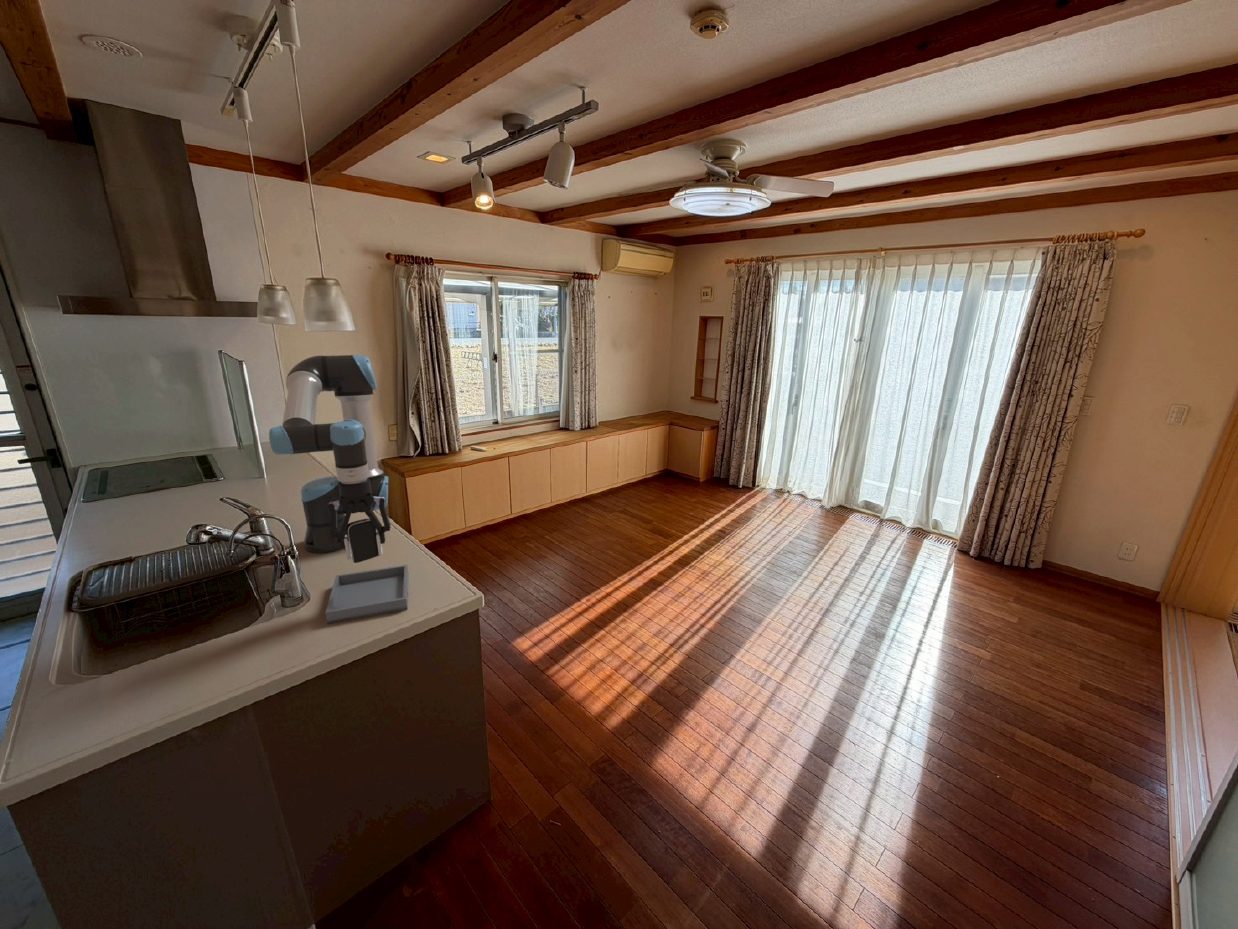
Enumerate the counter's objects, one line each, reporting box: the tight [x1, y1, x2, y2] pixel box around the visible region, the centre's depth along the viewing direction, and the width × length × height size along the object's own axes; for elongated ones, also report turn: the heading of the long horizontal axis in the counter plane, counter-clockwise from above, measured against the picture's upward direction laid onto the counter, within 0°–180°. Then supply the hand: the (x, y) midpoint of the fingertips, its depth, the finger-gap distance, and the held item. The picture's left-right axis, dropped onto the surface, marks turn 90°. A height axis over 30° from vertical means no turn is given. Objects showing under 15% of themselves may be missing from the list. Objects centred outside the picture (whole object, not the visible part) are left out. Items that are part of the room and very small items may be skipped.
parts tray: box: [325, 564, 409, 625], centre depth 140 cm, size 20×20×4 cm
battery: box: [346, 518, 380, 564], centre depth 134 cm, size 7×4×11 cm, turn 135°
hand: (365, 555), depth 136 cm, fingers closed on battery, 7 cm apart
